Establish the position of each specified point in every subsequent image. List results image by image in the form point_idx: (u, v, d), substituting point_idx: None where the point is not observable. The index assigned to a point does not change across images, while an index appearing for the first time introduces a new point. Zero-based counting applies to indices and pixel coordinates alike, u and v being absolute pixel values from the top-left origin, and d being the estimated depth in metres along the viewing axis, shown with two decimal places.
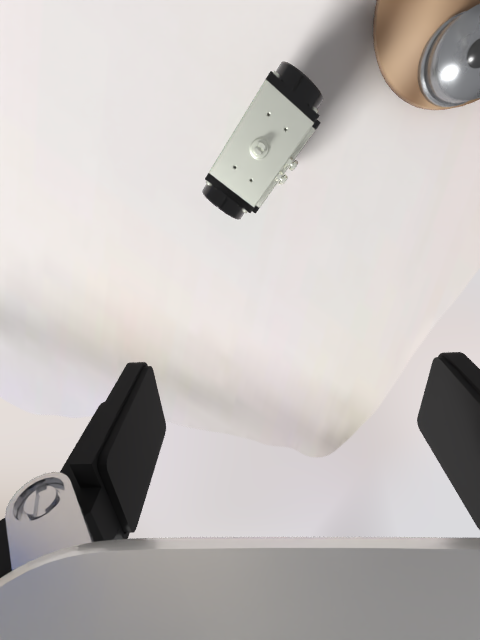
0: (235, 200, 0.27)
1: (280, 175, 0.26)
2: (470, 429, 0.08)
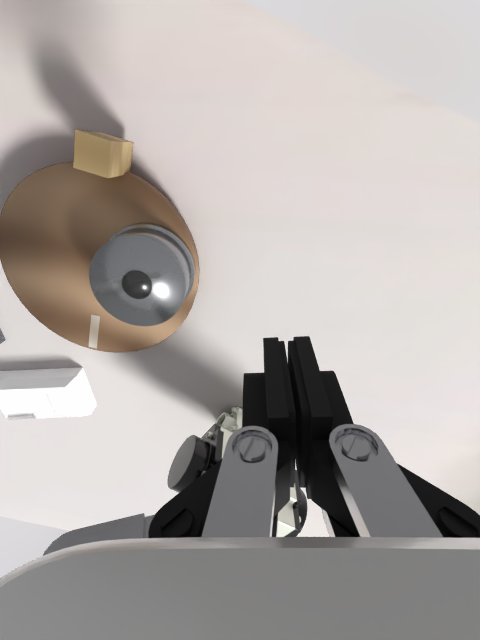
0: None
1: None
2: (295, 400, 0.10)
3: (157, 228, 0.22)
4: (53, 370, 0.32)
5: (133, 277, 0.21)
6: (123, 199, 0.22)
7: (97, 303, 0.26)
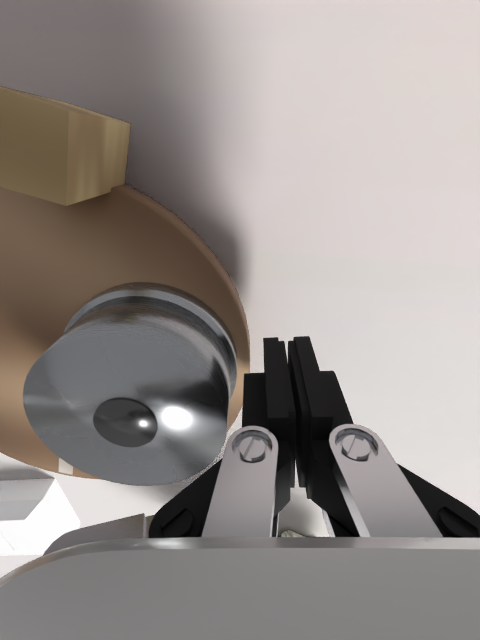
0: None
1: None
2: (295, 400, 0.10)
3: (167, 297, 0.11)
4: (10, 485, 0.20)
5: (117, 412, 0.10)
6: (111, 239, 0.11)
7: None
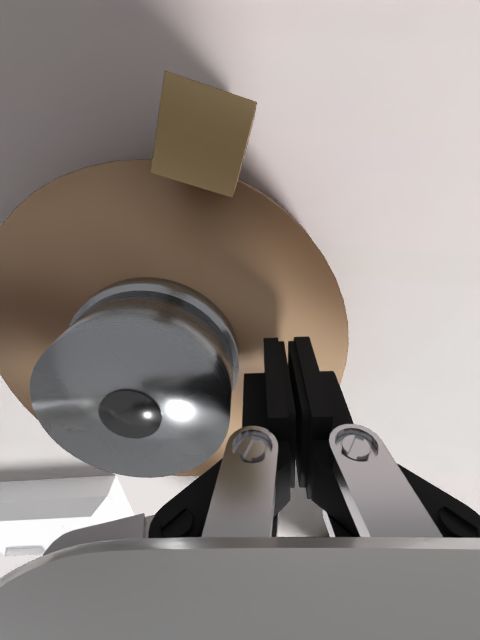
0: None
1: None
2: (295, 400, 0.10)
3: (169, 291, 0.11)
4: (71, 482, 0.20)
5: (122, 403, 0.10)
6: (229, 234, 0.11)
7: None
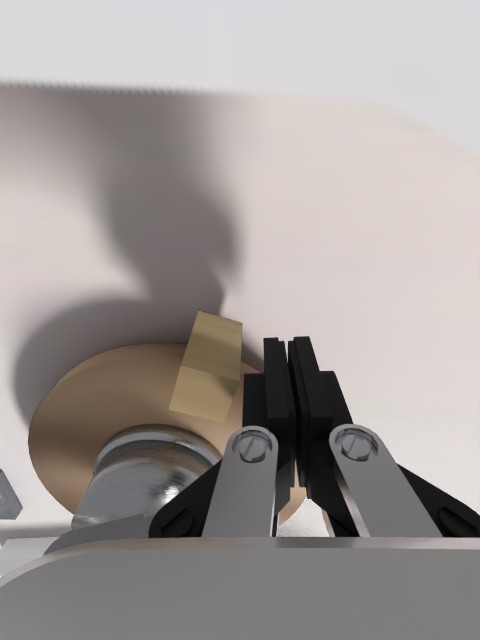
0: None
1: None
2: (295, 400, 0.10)
3: (175, 440, 0.15)
4: None
5: None
6: None
7: None
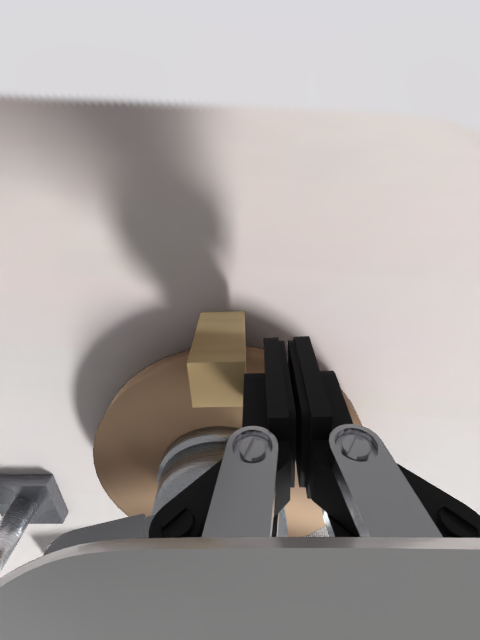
0: None
1: None
2: (295, 400, 0.10)
3: (219, 439, 0.15)
4: None
5: None
6: None
7: None
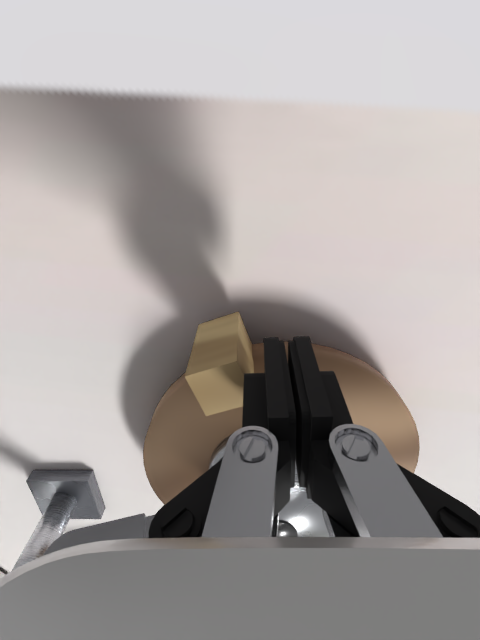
0: None
1: None
2: (295, 400, 0.10)
3: None
4: None
5: None
6: None
7: None
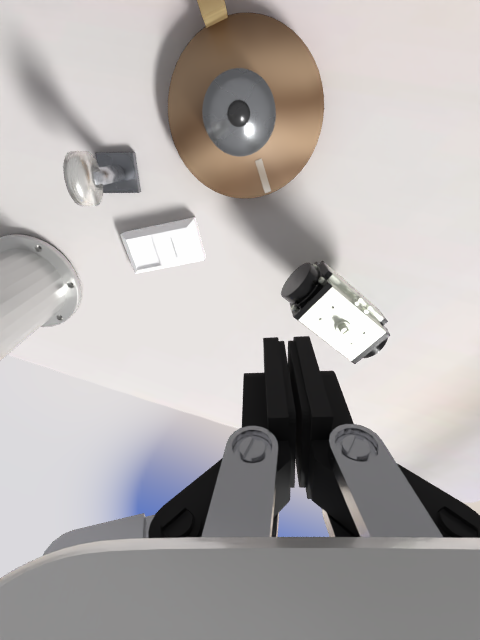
0: (376, 345, 0.33)
1: (365, 310, 0.31)
2: (295, 400, 0.10)
3: None
4: (172, 222, 0.38)
5: (233, 108, 0.28)
6: (236, 38, 0.28)
7: None
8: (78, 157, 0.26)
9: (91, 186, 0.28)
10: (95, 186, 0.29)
